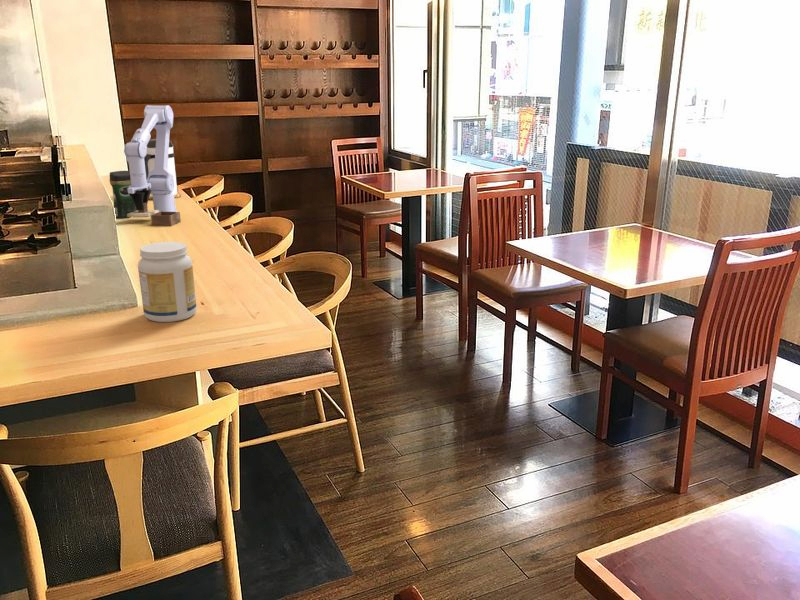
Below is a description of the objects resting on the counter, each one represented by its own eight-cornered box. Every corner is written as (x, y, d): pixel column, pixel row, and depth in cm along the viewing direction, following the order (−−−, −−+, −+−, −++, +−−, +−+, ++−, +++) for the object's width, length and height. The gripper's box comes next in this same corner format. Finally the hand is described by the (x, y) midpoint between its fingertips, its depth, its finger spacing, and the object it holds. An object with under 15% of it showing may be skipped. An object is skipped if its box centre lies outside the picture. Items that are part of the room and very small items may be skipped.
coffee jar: (136, 213, 284) (131, 169, 278) (141, 216, 278) (136, 171, 272) (112, 216, 279) (106, 170, 273) (116, 219, 272) (110, 172, 267)
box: (161, 222, 266) (160, 211, 265) (180, 223, 265) (179, 212, 264) (151, 226, 259) (150, 215, 257) (171, 227, 258) (170, 215, 256)
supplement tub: (178, 303, 171) (171, 238, 165) (207, 314, 163) (201, 245, 158) (133, 316, 162) (125, 247, 156) (162, 327, 154) (154, 255, 149)
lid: (138, 214, 270) (136, 201, 268) (159, 213, 269) (157, 201, 267) (127, 218, 262) (125, 205, 260) (148, 218, 260) (146, 204, 259)
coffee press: (144, 197, 323) (136, 132, 314) (178, 194, 330) (172, 131, 321) (147, 202, 309) (140, 135, 299) (183, 200, 315) (177, 134, 306)
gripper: (137, 171, 268) (141, 205, 272) (118, 176, 254) (122, 212, 258) (154, 172, 267) (158, 206, 271) (136, 176, 253) (140, 212, 257)
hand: (142, 209), depth 264 cm, fingers closed on lid, 3 cm apart
